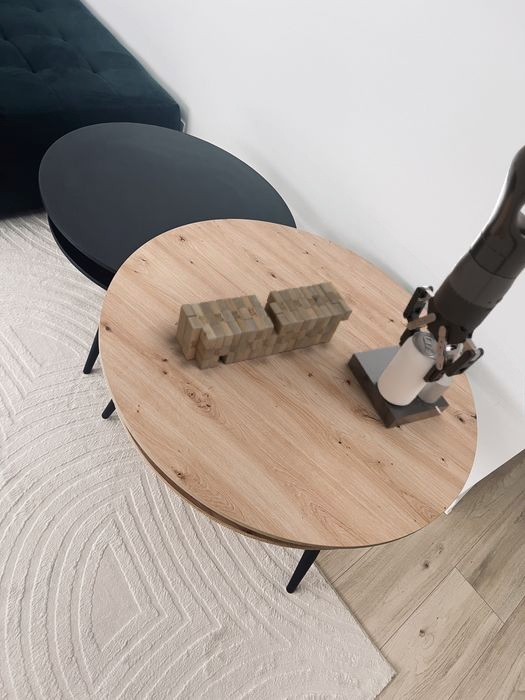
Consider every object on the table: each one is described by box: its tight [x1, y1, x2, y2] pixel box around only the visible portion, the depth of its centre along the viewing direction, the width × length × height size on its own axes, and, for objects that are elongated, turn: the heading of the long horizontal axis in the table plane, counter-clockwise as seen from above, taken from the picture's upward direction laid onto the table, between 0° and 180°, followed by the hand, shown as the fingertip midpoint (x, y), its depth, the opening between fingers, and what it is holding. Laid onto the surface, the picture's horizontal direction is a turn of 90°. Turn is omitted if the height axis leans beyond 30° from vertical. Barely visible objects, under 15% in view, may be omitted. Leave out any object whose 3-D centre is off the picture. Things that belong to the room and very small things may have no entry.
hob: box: [347, 344, 450, 430], centre depth 93 cm, size 15×13×3 cm
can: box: [378, 330, 438, 405], centre depth 85 cm, size 6×6×12 cm
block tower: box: [175, 281, 353, 370], centre depth 90 cm, size 8×8×29 cm
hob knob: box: [417, 374, 454, 404], centre depth 89 cm, size 4×4×5 cm
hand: (416, 362), depth 84 cm, fingers closed on can, 6 cm apart
